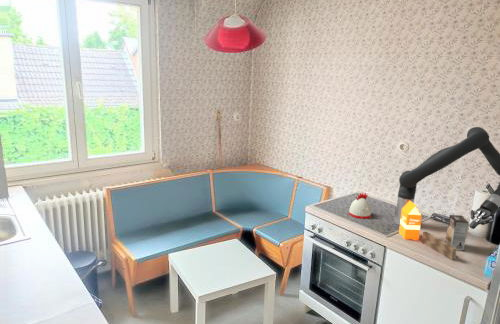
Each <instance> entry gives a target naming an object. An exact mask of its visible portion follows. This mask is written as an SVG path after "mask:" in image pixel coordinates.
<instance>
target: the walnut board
mask: <svg viewBox="0 0 500 324" xmlns="http://www.w3.org/2000/svg"><path fill="white" fill-rule="evenodd" d="M421 243H423V244H424V245H426V246H427V247H429V248H430V249H432V250H434V251H436V252H437V253H438V254H441V255H442V256H444V258H445V257H446V258H447V259H449V260H450V261H455V260H456V253H457V250H456V248H455V247H453V246H451V245H449V244H447V243H446V241H444V240H442V239H440V238H438V237H437V236H435V235H433V234H431V233H429V232H428V231H422V237H421Z"/></svg>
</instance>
